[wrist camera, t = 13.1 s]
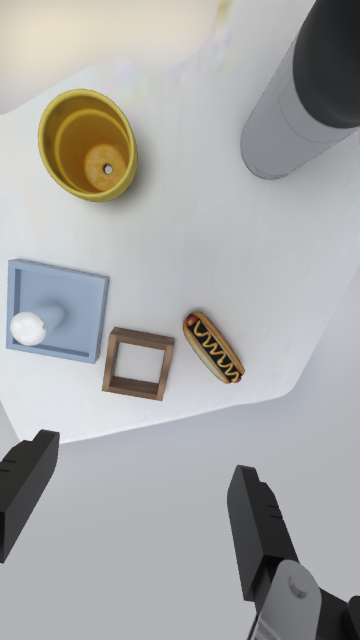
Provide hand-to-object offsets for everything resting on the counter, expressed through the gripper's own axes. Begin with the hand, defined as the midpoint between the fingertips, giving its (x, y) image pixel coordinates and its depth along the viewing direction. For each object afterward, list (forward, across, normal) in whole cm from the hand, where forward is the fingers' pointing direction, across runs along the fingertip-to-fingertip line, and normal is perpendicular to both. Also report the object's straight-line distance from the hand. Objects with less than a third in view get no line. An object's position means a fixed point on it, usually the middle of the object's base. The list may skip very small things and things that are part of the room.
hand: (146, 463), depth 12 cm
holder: (+32, +3, +11) cm, 34 cm away
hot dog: (+33, -8, +6) cm, 34 cm away
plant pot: (+33, +13, -17) cm, 39 cm away
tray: (+32, +17, +5) cm, 37 cm away
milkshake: (+31, +17, +5) cm, 36 cm away
